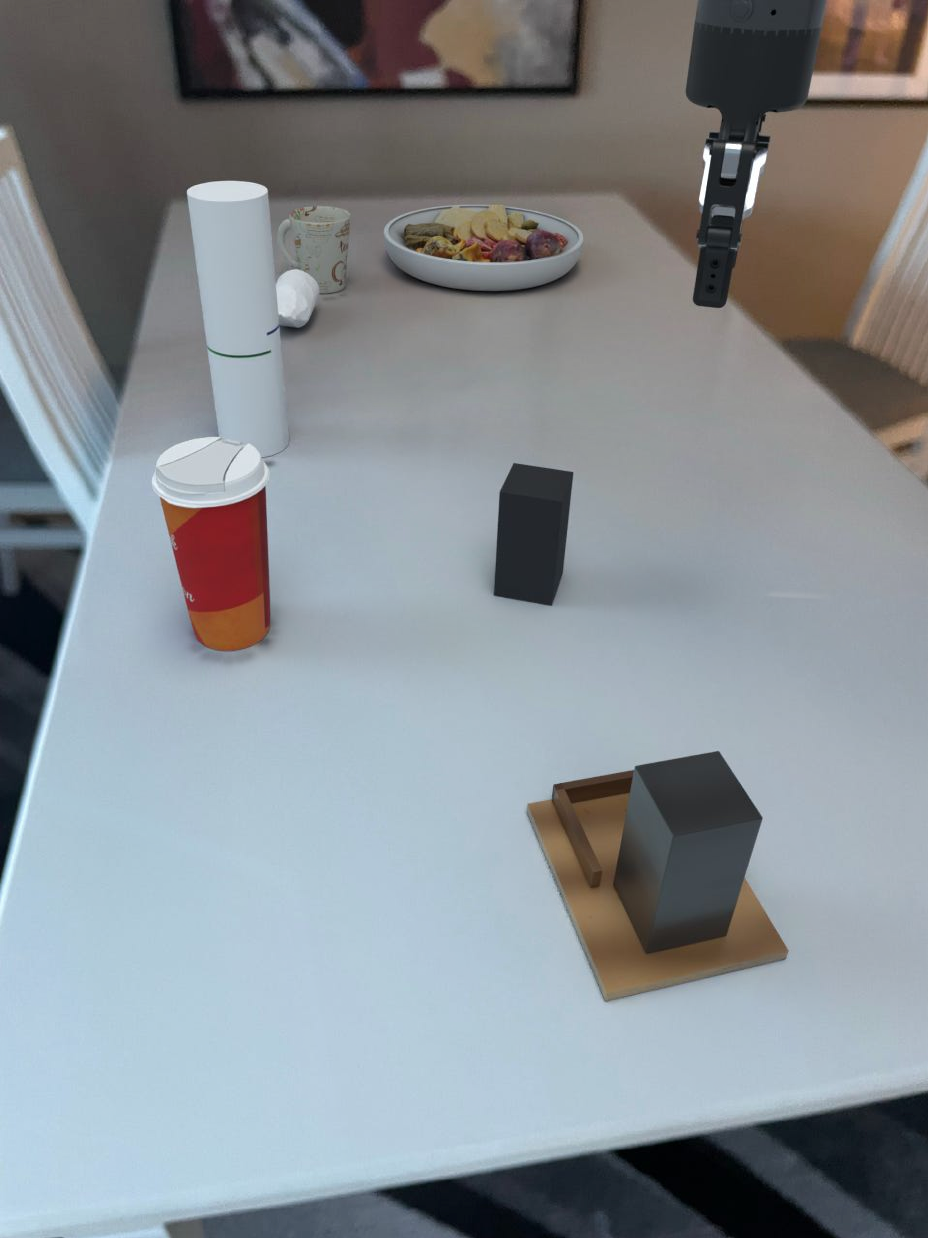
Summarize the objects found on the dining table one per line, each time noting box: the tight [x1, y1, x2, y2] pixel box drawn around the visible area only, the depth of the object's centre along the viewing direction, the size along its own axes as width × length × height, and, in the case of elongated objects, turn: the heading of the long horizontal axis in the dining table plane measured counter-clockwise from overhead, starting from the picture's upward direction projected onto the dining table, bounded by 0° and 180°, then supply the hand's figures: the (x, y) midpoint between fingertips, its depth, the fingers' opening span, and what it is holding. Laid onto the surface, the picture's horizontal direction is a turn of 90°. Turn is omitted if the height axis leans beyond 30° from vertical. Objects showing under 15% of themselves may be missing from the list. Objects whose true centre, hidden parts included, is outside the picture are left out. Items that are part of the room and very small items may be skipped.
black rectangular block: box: [493, 462, 574, 606], centre depth 82 cm, size 5×5×10 cm
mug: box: [276, 205, 351, 295], centre depth 141 cm, size 8×13×10 cm, turn 58°
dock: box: [526, 750, 790, 1002], centre depth 58 cm, size 14×11×11 cm
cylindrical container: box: [186, 180, 290, 458], centre depth 97 cm, size 7×7×25 cm
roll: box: [276, 268, 320, 329], centre depth 130 cm, size 6×12×6 cm, turn 178°
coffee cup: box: [151, 436, 271, 652], centre depth 75 cm, size 8×8×15 cm
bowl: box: [383, 203, 585, 292], centre depth 151 cm, size 30×30×8 cm
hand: (714, 285), depth 70 cm, fingers open, 8 cm apart
